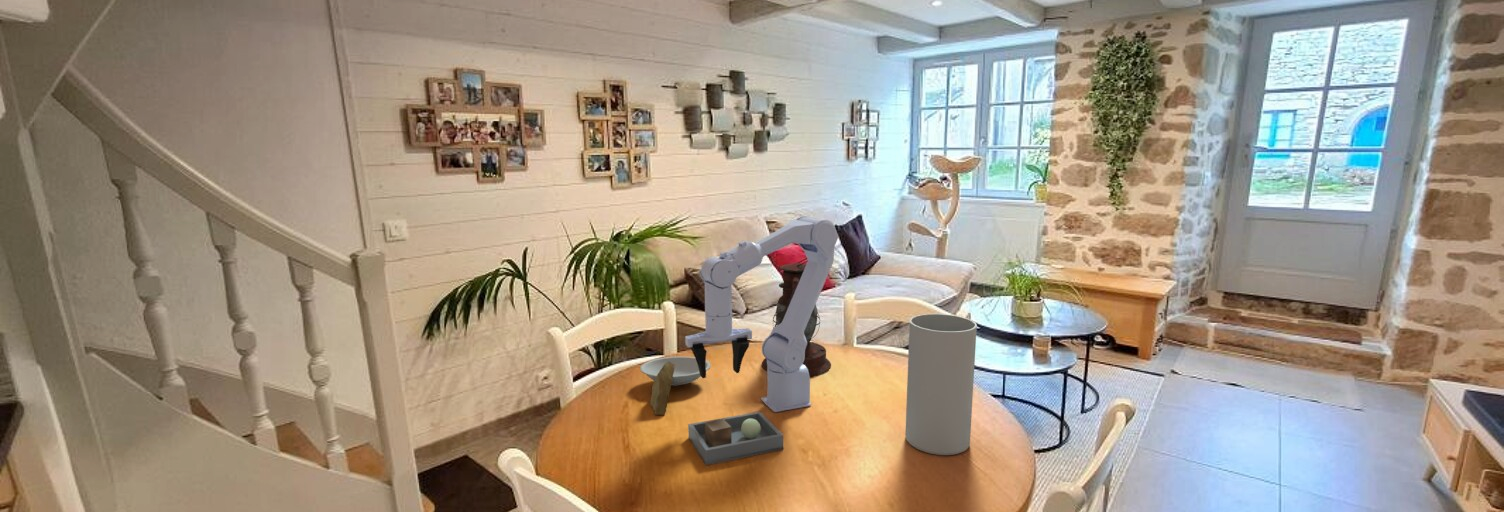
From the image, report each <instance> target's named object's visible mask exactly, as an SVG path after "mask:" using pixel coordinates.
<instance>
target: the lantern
mask: <svg viewBox="0 0 1504 512" xmlns="http://www.w3.org/2000/svg"><path fill="white" fill-rule="evenodd" d="M807 262H808V259H807V257H806V258H804V259H802V260H800V261H798V262H793V263H788V264H784V265H783V264H782V265H781V266H780V270H781V271H782V276H781V278H782V283H779V284H778V286H779V288H781V289H782V295H781V296H779V298H778V301H777V304H776V309H775V313H774V315H773V317H772V322H773V323H775V324H774V326H772V329H773V328H774V327H776V326H777V325H779V324H781V323H782V321H783V319H784V316H785V314H786V312H787V309H788V307H789V305H790V302H791V300H792V298H793V295H794V293H795V290H796V288H797V286H798V283H799V281H800V279H801V276H802V274H803V272H804V269H805V267H806V265H807ZM818 319H819V322H818ZM820 325H821V318H820V314H819V312H818V307H817V303H816V304H815V307H814V309H813V311H812V314H811V316H810V319H809V321H808V323H807V326H806V328H805V330H804V335H805V338H806V340H807V346H806V349H805V359H804V362H803V364H804V365H805V366H806V367H807V369H808V372H809V376H810V378H813V377H817V376H821V375H824V374H826V373H828V372H829V371H830V370H831V369H832V363H831V361H830V360H829V359H828V358H827V349H826V348H825V347H824V346H823V345H821V344H819V343H817V342H814V341H812V339H813V338H814V337H815V336H817V334H818V332H819V329H820ZM817 326H818V329H817V331H816V328H817ZM815 331H816V333H815ZM814 334H815V335H814ZM787 340H788V339H787ZM762 367H763V368H762ZM761 368H762V369H763V370H764V371H765V372H767V359H766V358H765V357H764V359H763V360H762V362H761ZM829 369H830V370H829ZM828 370H829V371H828ZM827 371H828V372H827Z"/></svg>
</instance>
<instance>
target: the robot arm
mask: <svg viewBox="0 0 1504 512" xmlns="http://www.w3.org/2000/svg"><path fill="white" fill-rule="evenodd" d="M838 239H839V234H838V232H837V229H836V227H835V225H834V223H833V222H832V221H830V220H829V219H820V218H819V219H818V218H812V217H809V216H806V215H802V216H799V217H797V218H796V219H793V220H790V221H789V222H788V223H787V224H785V225H784V226H782V227H780V228H779V229H777V230H775V231H774V232H771V234H769V235H767V236H765V237H764V238H762V239H760V240H758V241H757V242H753V241H750V240H748V241H744V240H741V241H740V242H738V246H735V247H734V248H732V249H730V250H728V251H722V252H720V253H719V256H718V257H717V256H711V257H709V258H708V257H707V259H705V261H703V263H702V265H701V268H700V269H699V270H698V271H699V272H698V273H699V276H700V278H701V280H702V281H703V282H704V312H705V313H704V315H705V317H704V318H705V331H703V332H699V333H695V334H690V335H685V338H684V339H685V340H684V343H685V346H686V347H687V348H690V349H691V353H692V354H693V357H695V358H696V361H697V364H698V367H699V372H700V378H702V379H706V378H707V371H706V365H705V363H706V361H707V351H708V350H706V348H705V346H704V345H708V344H716V343H725V342H731V347H732V370H733V372H735V373H736V374H740V371H741V365H742V362H743V359H744V357H745V355H746V352H747V350H749V349H748V348H749V347H750V340H752V339H753V331H752V329H750V328H748V327H747V328H733V304H732V303H733V300H732V299H733V298H732V294H733V293H732V285H733V284H734V283H735V282H736V280H737V277H739V276H741V275H743V274H745V273H747V272H748V271H751V270H753V269H755V268H756V267H758V266H760V265H761V264H762V262H763V259H764V257H765V256H768V255H770V254H772V253H774V252H777V251H778V250H779V251H780V250H781V249H783V248H785V247H787V246H789V245H792V244H798V246H799V247H800V248H801V249H802V251H803V252H804V254H805V257H806V258H807V259H806V260H808V261H807V262H806V264H805V265H806V267H805V269H804V272H803V274H802V276H801V279H800V281H799V283H798V286H797V288H796V290H795V293H794V295H793V298H792V300H791V302H790V305H789V307H788V309H787V312H786V314H785V316H784V319H783V321H782V323H781V324H779V325H776V327H775V326H773V327H774V328H773V327H772V330H771V332H770V333H769V335H768V336H767V337H766V338H765V339H764V340H763V342H762V344H761V353H762V356H763V357H764V359H765V358H766V359H767V371H766V372H767V373H766V375H767V380H766V381H767V383H766V384H767V396H763V397H761V398H760V399H761V401H762V402H763V403H764V404H765V406H767V407H768V408H769V409H770V410H772V412H773V413H777V412H779V413H780V412H784V411H790V410H795V409H796V410H797V409H801V408H805V407H811V406H812V403H811V397H810V396H811V377H810V376H809V372H808V369H807V367H806V366H805V365H804V364H803V362H804V359H805V349H806V346H807V340H806V338H805V335H804V330H805V328H806V326H807V323H808V321H809V319H810V316H811V314H812V311H813V309H814V307H815V304H816V305H817V301H818V299H819V297H820V294H821V292H822V290H823V288H824V286H825V283H826V280H827V278H828V275H829V274H830V271H831V269H832V266H833V264H834V258H835V257H834V256H835V246H836V244H837V241H838ZM787 339H788V340H787Z"/></svg>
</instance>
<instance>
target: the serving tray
mask: <svg viewBox="0 0 1504 512" xmlns="http://www.w3.org/2000/svg"><path fill="white" fill-rule="evenodd" d="M721 419H724V420H725V421H726V422H727V423H728V424H729V425H730V426H731V437H732V443H731V444H726V445H721V446H716V447H710V446H709V445H708V444H707V443H706V442H705V423H707V422H711V421H716V420H721ZM747 419H755V420H757V421H758V422H759V424H760V427H761V431H760V434H759V435H758V436H757V437H756V438H754V439H748V438H746V437H745V436H744V435H743V434H742V432H741V426H742V423H743V422H744V421H745V420H747ZM687 425H688V427H687V428H688V439H689V441H690V442H691V444H692V446H693V447H694V448H695V450H696V451H697V453H698V455H699V457H700V458H701V459H702V461H703V463H704V464H705V466H711V465H715V464H719V463H723V462H729V461H734V460H738V459H743V458H749V457H754V456H757V455H758V456H759V455H763V454H768V453H772V452H778V451H783V450H784V434H783V433H782V432H781V431H780V430H779V429H778V428H777V427H776V426H775V425H774V424H773V422H771V421H770V420H769V419H768V418H767V417H766V416H765V415H764V413H763V412H761V411H755V412H750V413H744V414H738V415H732V416H727V417H722V418H715V419H709V420H704V421H698V422H694V423H688V424H687Z"/></svg>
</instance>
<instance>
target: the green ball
mask: <svg viewBox="0 0 1504 512" xmlns="http://www.w3.org/2000/svg"><path fill="white" fill-rule="evenodd" d="M760 431H761V427H760V424H759V422H758V421H757V420H755V419H747V420H745V421H744V422H743V423H742V426H741V432H742V434H743V435H744V436H745V437H746V438H748V439H754V438H756V437H757V436H758V435H759V434H760Z"/></svg>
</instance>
